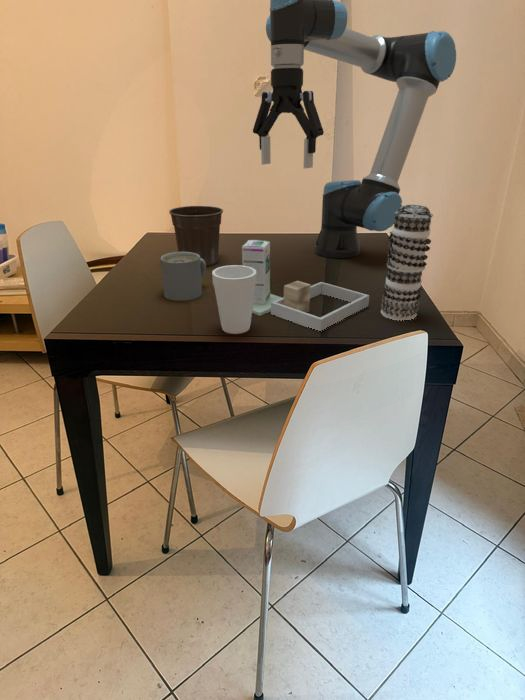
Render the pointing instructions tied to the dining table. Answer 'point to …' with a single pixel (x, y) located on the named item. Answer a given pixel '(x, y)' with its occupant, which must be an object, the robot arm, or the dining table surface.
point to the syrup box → (258, 267)
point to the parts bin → (321, 323)
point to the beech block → (297, 296)
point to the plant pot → (198, 231)
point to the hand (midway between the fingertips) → (286, 166)
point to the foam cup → (235, 296)
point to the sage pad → (264, 306)
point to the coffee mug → (182, 275)
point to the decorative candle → (406, 262)
